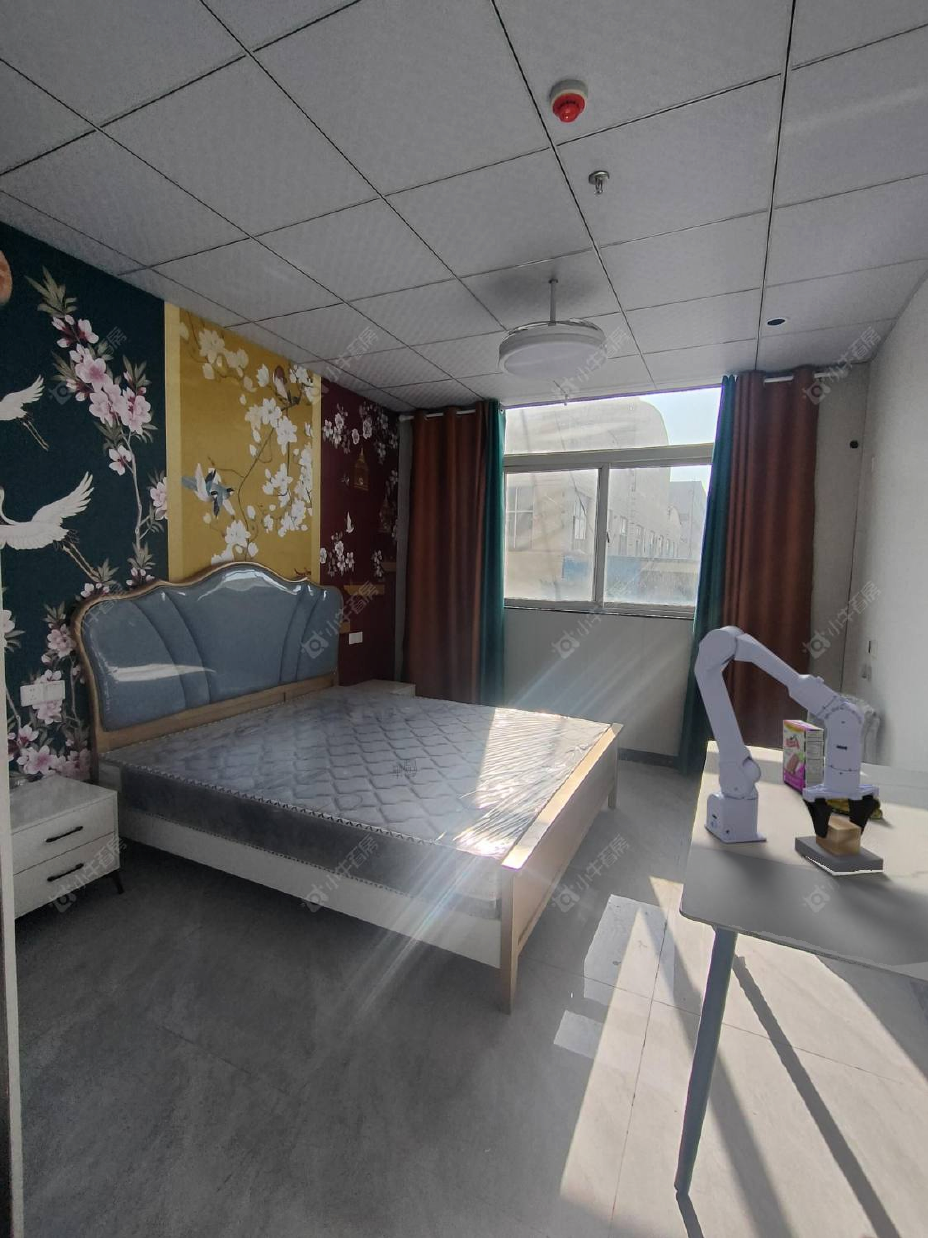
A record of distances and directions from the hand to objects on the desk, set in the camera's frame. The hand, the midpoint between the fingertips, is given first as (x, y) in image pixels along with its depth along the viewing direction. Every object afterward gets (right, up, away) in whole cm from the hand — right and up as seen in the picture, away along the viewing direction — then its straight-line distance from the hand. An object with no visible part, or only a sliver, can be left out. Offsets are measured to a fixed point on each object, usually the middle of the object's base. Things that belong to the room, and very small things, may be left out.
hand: (838, 834), depth 107 cm
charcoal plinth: (0, -5, 0) cm, 5 cm away
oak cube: (0, -3, 0) cm, 3 cm away
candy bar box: (+14, -2, +35) cm, 38 cm away
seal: (+17, -3, +24) cm, 29 cm away
